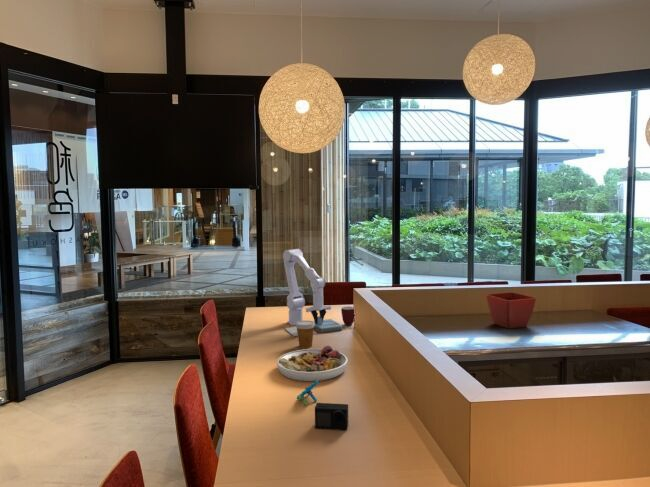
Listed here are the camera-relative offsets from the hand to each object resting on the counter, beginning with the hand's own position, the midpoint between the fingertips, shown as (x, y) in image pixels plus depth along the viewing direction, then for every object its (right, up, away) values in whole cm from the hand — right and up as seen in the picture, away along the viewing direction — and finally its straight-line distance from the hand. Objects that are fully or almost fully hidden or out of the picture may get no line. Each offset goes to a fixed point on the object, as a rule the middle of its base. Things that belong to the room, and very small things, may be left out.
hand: (318, 323), depth 269 cm
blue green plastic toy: (-3, -13, -95) cm, 96 cm away
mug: (+18, -3, +8) cm, 20 cm away
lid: (+4, -1, +2) cm, 5 cm away
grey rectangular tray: (+4, -3, +2) cm, 6 cm away
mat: (-10, -4, -4) cm, 11 cm away
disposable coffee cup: (-6, -7, -30) cm, 31 cm away
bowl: (-2, -10, -64) cm, 65 cm away
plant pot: (+108, -2, +2) cm, 108 cm away
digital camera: (+6, -14, -116) cm, 117 cm away
